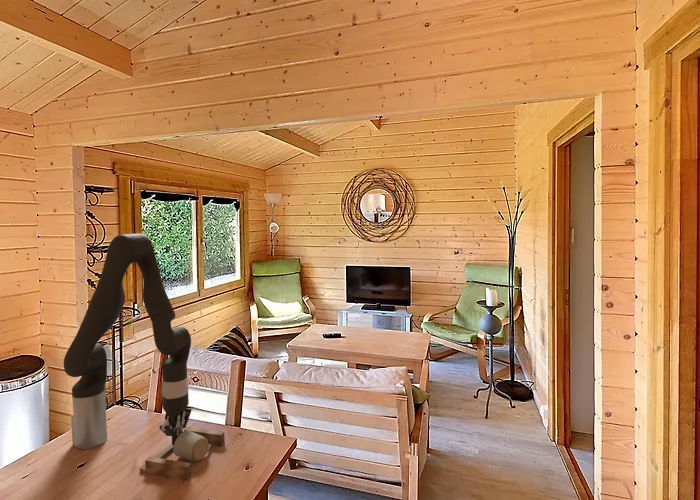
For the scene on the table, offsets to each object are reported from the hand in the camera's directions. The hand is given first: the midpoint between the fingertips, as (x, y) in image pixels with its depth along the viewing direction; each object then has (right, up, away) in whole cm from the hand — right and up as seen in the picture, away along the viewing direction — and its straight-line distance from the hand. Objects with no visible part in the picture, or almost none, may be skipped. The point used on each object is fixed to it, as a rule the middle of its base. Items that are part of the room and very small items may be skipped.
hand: (176, 445), depth 130 cm
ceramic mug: (+5, -4, +1) cm, 7 cm away
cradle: (+4, -4, -1) cm, 5 cm away
